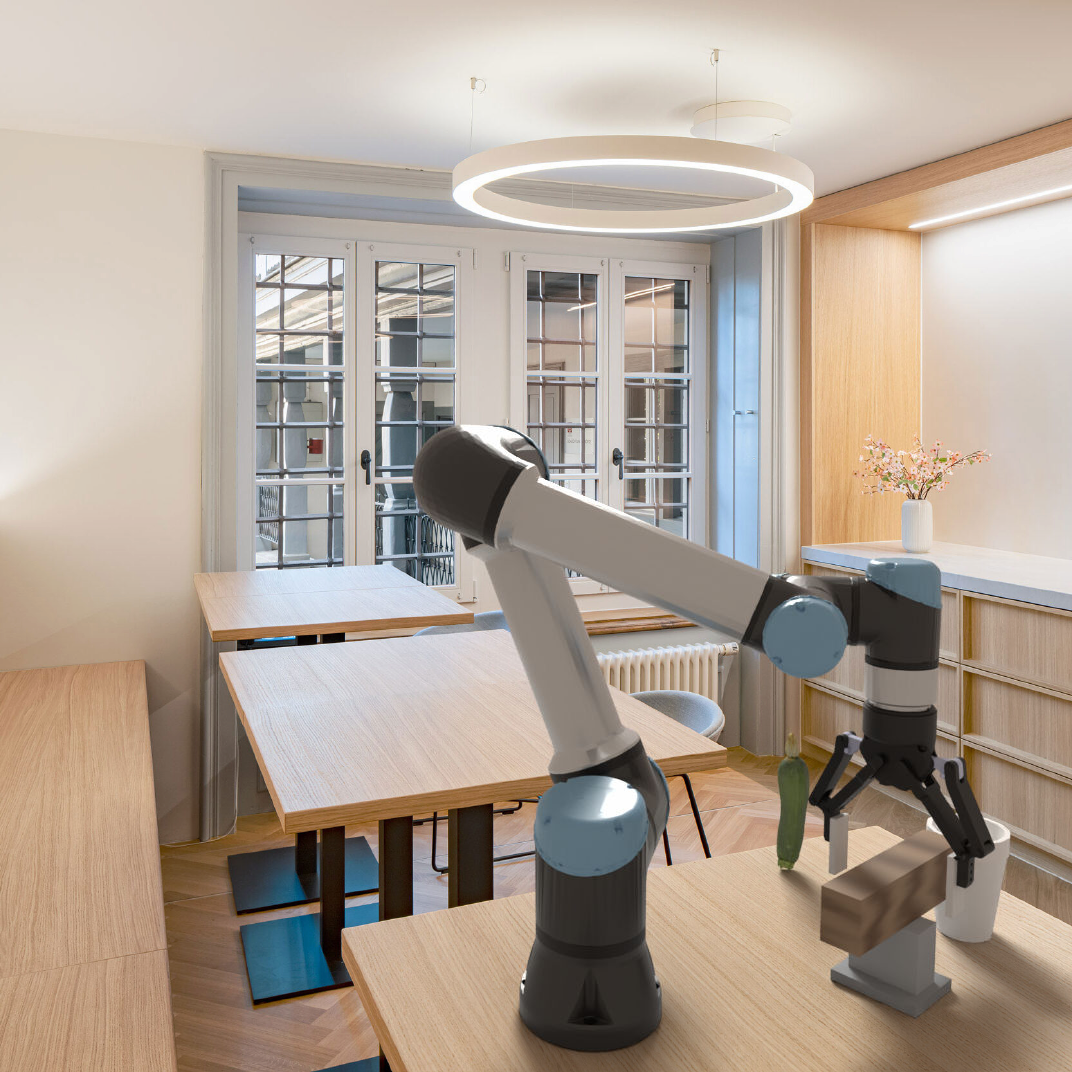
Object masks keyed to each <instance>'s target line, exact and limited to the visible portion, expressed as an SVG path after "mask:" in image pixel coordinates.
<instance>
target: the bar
mask: <svg viewBox="0 0 1072 1072" xmlns="http://www.w3.org/2000/svg"><path fill="white" fill-rule="evenodd" d="M953 852H954V851H953V850H952V848H951V847H950V845H949V843H948V842H947V840H946V839H945V837H944V836H943V835H941V834H938V833H935V832H932V831H928V830H926V829H925V828H923V829H922V830H920V831H918V832H917V833H915V834H912V835H910V836H909V837H907V838H905V839H904V840H901V841H900V842H898V843H897V844H895V845H892V846H890V847H889V848H887V849H885V850H884V851H882V852H880V853H878V854H876V855H874V856H873V857H871V858H868V859H867V860H865V861H864V862H862V863H859V864H858V865H856V866H854V867H852V868H851V869H849V870H847V871H845V872H843V873H842V874H840V875H838V876H836V877H834V878H832V879H830V880H829V881H826V882H825V883H823V884H822V885H821V886H820V887H821V888H820V890H821V891H820V892H821V893H820V919H819V920H820V921H819V923H820V926H819V927H820V928H819V941H821V942H823V943H824V944H826V945H830V946H832V947H834V948H836V949H839V950H840V951H843V952H845V953H848V954H849V953H850V954H852V955H855V956H857V957H861V956H862V955H864V954H865V953H867V952H868V951H870V950H871V949H873V948H874V947H876V946H877V945H879V944H880V943H882V942H883V941H885V940H886V939H888V938H889V937H891V936H892V935H894V934H895V933H897V932H898V931H900V930H901V929H903V928H904V927H906V926H907V925H909V924H910V923H912V922H913V921H915V920H916V919H918V918H919V917H923V916H924V915H925V914H926V913H929V911H931V910H934V907H936V906H937V905H939V904H940V903H942V902H943V901H945V900H946V879H947V856H948V855H950V854H951V853H953Z"/></svg>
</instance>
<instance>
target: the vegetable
mask: <svg viewBox="0 0 1072 1072" xmlns="http://www.w3.org/2000/svg"><path fill="white" fill-rule="evenodd" d="M795 734H796V733H795V732H790V733H788V736H787V739H786V743H785V747H784V752H785V753H786V757H784V758H783V759H782V760H781V762H780V763H779V765H778V768H777V782H778V783H777V784H778V791H779V798H780V814H779V821H778V828H777V832H776V834H777V835H776V856H777V866H778V867H779V868H780V869H783V868H784V869H788V870H792V869H793V868H794V866H795V863H796V862H797V861H798V860H799V857H800V853H801V850H802V846H803V841H804V838H805V837H804V836H805V825H806V824H805V823H806V817H807V810H808V803H809V800H808V799H809V796H810V772H809V768H808V765H807V763H806V762H805V760H804V759H803V758H801V757H799V755H800V750H799V746H798V740H797V739H798V738H797V737H796V736H795Z"/></svg>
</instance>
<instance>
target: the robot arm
mask: <svg viewBox="0 0 1072 1072" xmlns="http://www.w3.org/2000/svg"><path fill="white" fill-rule="evenodd" d="M550 474H551V472H550V467H549V463H548V459H547V458H546V455H545V454H544V452H543V450H542V449H541V447H540V446H539V444H537V443H536V441H535V440H533V439H532V438H531V437H529V436H528V435H526V433H525V434H524V433H523V432H521V431H520V430H518V429H515V428H513V427H510V426H507V425H498V424H487V425H474V424H457V425H453V426H449V427H446V428H444V429H442V430H440V431H438V432H437V433H434V434H433V435H432V436H431V437H430V438H429V439H428V440H426V442H424V444H423V445H422V447H421V448H420V450H419V451H418V453H417V455H416V458H415V461H414V463H413V469H412V478H411V479H412V487H413V491H414V494H415V497H416V500H417V502H418V503H419V505H420V508H421V509H422V510H423V511H424V513H425V514H426V515H427V516H428V517H429V518H430V519H432V521H434V522H435V523H437V524H438V525H439V526H442V527H443V528H446V529H447V530H449V531H453V532H456V533H458V534H459V535H460V538H461V541H462V543H463V546H464V549H465V551H466V552H467V554H468V555H471V556H472V557H475V558H477V559H479V560H481V561H482V562H483V563H484V566H485V568H486V570H487V573H488V575H489V578H490V581H491V584H492V586H493V588H494V592H495V595H496V597H497V600H498V602H499V605H500V608H501V611H502V613H503V615H504V619H505V622H506V624H507V628H508V630H509V632H510V634H511V638H512V640H513V642H514V646H515V648H516V650H517V653H518V656H519V659H520V662H521V664H522V667H523V669H524V672H525V675H526V677H527V681H528V683H529V686H530V689H531V691H532V694H533V696H534V699H535V701H536V704H537V707H538V710H539V712H540V715H541V718H542V721H543V723H544V726H545V729H546V730H547V734H548V737H549V739H550V741H551V745H552V748H553V754H552V756H551V758H550V760H549V763H548V766H547V771H548V773H549V775H550V779H551V781H552V786H551V787H550V788H548V789H547V790H546V791H545V792H543V794H542V795H541V797H540V798H539V801H538V802H537V806H536V809H535V810H536V811H535V812H536V813H535V820H534V822H533V840H534V841H533V842H534V856H535V857H534V862H535V863H534V864H535V866H534V871H535V879H534V880H535V884H534V886H535V887H534V888H535V891H534V893H535V903H534V904H535V907H534V908H535V937H534V941H533V944H532V947H531V950H530V953H529V956H528V960H527V964H526V970H525V971H524V973H523V975H522V976H521V980H520V983H519V988H518V990H519V991H518V992H519V994H518V996H519V1000H518V1001H519V1005H518V1006H519V1013H520V1017H521V1019H522V1021H523V1023H524V1024H525V1025H526V1027H527V1028H528V1029H529V1030H530V1031H531V1032H532V1033H534V1034H535V1035H536V1036H537V1037H539V1038H541V1039H543V1040H545V1041H547V1042H548V1043H551V1044H553V1045H557V1046H559V1047H563V1048H566V1049H571V1050H577V1051H578V1050H579V1051H584V1052H585V1051H587V1052H598V1051H600V1052H601V1051H613V1050H615V1049H616V1050H617V1049H622V1048H625V1047H628V1046H631V1045H634V1044H636V1043H638V1042H640V1041H643V1040H644V1039H645V1038H647V1037H648V1036H649V1035H651V1034H653V1032H654V1031H655V1030H656V1029H657V1027H658V1025H659V1024H660V1021H661V1019H662V1014H663V1008H662V1007H663V991H662V987H661V986H662V985H661V983H660V981H659V978H658V976H657V974H656V971H655V965H654V962H653V958H652V954H651V952H650V949H649V945H648V943H647V937H646V936H647V935H646V934H647V929H646V928H647V926H646V925H647V923H646V922H647V879H648V870H649V867H650V864H651V862H652V858H653V856H654V854H655V853H656V850H657V847H658V845H659V842H660V840H661V837H662V835H663V833H664V831H665V829H666V827H667V825H668V822H669V818H670V817H669V816H670V810H671V805H670V803H671V799H670V798H671V797H670V796H671V795H670V789H669V784H668V781H667V778H666V776H665V774H664V772H663V770H662V768H661V767H660V766H659V764H658V763H657V762H656V761H655V760H654V759H653V758H652V757H651V756H649V755H647V754H648V753H647V752H646V749H645V747H644V746H645V745H644V744H643V742H642V739H641V736H640V734H639V733H638V731H635V730H633V729H631V728H629V727H626V726H625V725H624V724H623V723H622V721H621V718H620V716H619V713H618V711H617V708H616V705H615V703H614V700H613V697H612V693H611V691H610V689H609V687H608V684H607V681H606V678H605V676H604V673H603V670H602V668H601V665H600V663H599V662H600V661H599V660H598V657H597V655H596V651H595V649H594V647H593V644H592V640H591V639H590V636H589V633H588V630H587V628H586V625H585V622H584V619H583V617H582V614H581V611H580V609H579V607H578V604H577V600H576V598H575V595H574V593H573V589H572V587H571V585H570V582H569V579H568V577H567V574H566V571H565V569H567V570H569V571H571V572H573V573H576V574H578V575H581V576H583V577H585V578H588V579H590V580H593V581H595V582H597V583H599V584H601V585H604V586H606V587H609V588H611V589H613V590H615V591H617V592H620V593H622V594H625V595H626V596H629V597H632V598H634V599H636V600H639V601H640V602H643V603H645V604H648V605H649V606H653V607H655V608H657V609H659V610H662V611H664V612H666V613H668V614H671V615H673V616H675V617H678V618H680V619H682V620H684V621H687V622H689V623H691V624H693V625H695V626H698V627H700V628H703V629H705V630H708V631H710V632H713V633H715V634H716V635H719V636H722V637H723V638H726V639H729V640H730V641H733V642H736V643H737V644H740V645H742V646H744V647H746V648H748V649H750V650H751V651H754V652H757V653H758V654H761V655H763V656H766V657H767V658H768V659H769V661H770V662H771V663H772V664H773V665H774V666H775V667H776V668H777V669H778V670H779V671H780V672H782V673H784V674H786V675H787V676H791V677H793V678H797V679H803V680H804V679H807V680H808V679H814V678H818V677H821V676H825V675H826V674H827V673H829V672H831V671H832V670H834V668H835V667H836V666H837V665H838V664H839V663H840V661H841V660H842V658H843V657H844V653H845V651H846V648H847V646H849V647H858V646H860V647H861V646H862V647H864V651H865V652H864V664H863V665H864V668H863V669H864V671H863V686H862V688H863V693H862V694H863V696H864V697H865V698H866V700H865V701H863V704H862V726H861V727H862V728H861V729H862V730H861V731H862V733H863V737H860V736H857V734H856V732H855V731H853V730H848V731H845V732H842V733H840V734H837V735H836V737H835V743H834V747H833V748H834V749H833V753H832V755H831V757H830V759H828V760H829V761H828V763H827V765H826V766H825V768H824V769H823V771H822V774H821V775H820V777H819V778H818V780H817V782H816V784H815V786H814V788H813V789H812V791H811V793H810V794H809V799H808V803H809V805H811V806H812V807H817V808H819V809H820V810H821V811H822V814H823V839H824V841H825V842H828V843H829V845H828V849H829V850H828V874H830V875H833V876H836V875H837V874H839V873H841V872H842V871H845V870H847V869H848V850H849V849H848V848H849V847H848V846H849V845H848V844H849V813H848V812H843V810H844V809H845V808H846V806H848V804H849V803H850V802H852V801H853V800H854V799H855V798H856V797H857V796H858V795H859V794H861V792H863V791H864V790H865V789H866V788H867V787H868V786H869V785H870V784H871V783H872V782H874V781H875V780H876V781H877V782H878V784H879V785H881V786H885V787H893V788H896V789H898V790H900V791H903V792H908V791H910V792H911V793H912V794H913V796H914V797H915V799H916V800H918V801H920V802H921V803H922V805H923V806H924V808H925V810H926V811H927V813H928V814H929V816H930V817H932V819H933V820H934V822H935V823H936V825H937V826H938V828H939V830H940V831H941V833H942V834H943V836H944V837H945V839H946V840H947V842H948V843H949V845H950V847H951V848H952V850H953V851H954V852H953V853H951V854H950V855H948V856H947V879H946V904H945V916H946V917H949V918H951V919H953V918H954V917H955V916H957V915H958V914H960V913H961V912H962V911H964V897H965V889H966V888H967V887H969V886H970V885H972V883H973V881H974V864H975V857H977V858H980V859H981V858H984V857H985V856H987V855H988V854H990V853H991V852H993V851H994V850H995V845H994V842H993V840H992V838H991V835H990V833H989V830H988V828H987V826H986V823H985V821H984V818H985V817H983V814H982V811H981V809H980V807H979V804H978V801H977V799H976V797H975V794H974V793H973V790H972V788H971V785H970V783H969V781H968V774H967V773H968V772H967V762H966V760H965V758H963V757H962V756H957V757H955V758H947V757H939V756H938V754H937V752H936V740H937V733H938V732H937V729H938V726H937V725H938V709H937V708H936V706H935V705H934V704H936V703H937V702H938V698H939V669H940V664H939V663H940V646H941V645H940V644H941V630H942V629H941V628H942V611H943V610H942V609H943V604H942V573H941V572H942V571H941V568H940V567H939V566H938V565H936V563H934V562H932V561H930V560H926V559H923V558H922V559H921V558H911V557H878V558H872V559H871V560H870V561H869V562H868V563H867V567H866V571H865V572H864V573H865V574H864V575H858V576H837V575H836V576H833V575H832V576H830V575H829V576H828V575H812V574H790V573H789V572H782V573H780V574H779V573H777V574H772V573H771V574H770V573H768V572H766V571H763V570H760V569H759V568H756V567H754V566H752V565H749V564H747V563H744V562H742V561H739V560H737V559H735V558H732V557H730V556H728V555H725V554H723V553H720V552H718V551H716V550H713V549H711V548H708V547H706V546H703V545H701V544H699V543H696V542H694V541H691V540H690V539H686V538H684V537H682V536H680V535H677V534H675V533H672V532H670V531H668V530H666V529H663V528H661V527H658V526H655V525H653V524H651V523H649V522H647V521H644V520H642V519H639V518H636V517H635V516H632V515H630V514H627V513H625V512H623V511H621V510H618V509H615V508H613V507H611V506H608V505H605V504H604V503H602V502H599V501H596V500H594V499H591V498H589V497H586V496H584V495H581V494H580V493H577V492H574V491H572V490H570V489H568V488H565V487H562V486H560V485H558V484H555V483H553V482H551V475H550ZM858 752H859V753H860V754H861V756H862V758H863V759H864V762H865V763H866V764H865V765H864V766H863V767H862V768H861V769H860V770H859V771H858V772H856V773H855V775H854V777H853V778H852V779H850V780H849V782H848V783H846V784H845V785H844V786H843V787H842V788H841V789H840V790H839V791H838V792H836V793H835V794H834V796H832V797H831V795H833V792H834V790H835V789H836V786H837V785H838V783H839V781H840V779H841V778H842V776H843V775H844V773H845V770H846V769H847V767H848V765H849V764H850V762H851V760H852V758H853V756H854V754H856V753H858ZM935 770H938V771H939V776H940V778H941V779H943V780H944V781H945V782H944V783H945V786H946V791H947V792H948V794H949V798H950V800H951V802H952V805H953V807H954V809H953V807H952V806H951V804H950V803H949V802H948V800H947V798H946V797H945V796H944V794H943V792H942V790H941V786H940V783H939V782H938V780H937V779H936V777H935V776H934V774H933V773H934V772H935ZM923 785H925V786H923ZM841 811H842V812H841ZM955 813H957V815H958V817H959V818H958V817H957V815H956V814H955Z"/></svg>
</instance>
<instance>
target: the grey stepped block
mask: <svg viewBox="0 0 1072 1072" xmlns="http://www.w3.org/2000/svg"><path fill="white" fill-rule="evenodd" d="M936 923H937V922H936V921H934V920H932V919H929V918H926V917H924V916H921V917H919V918H918V919H916V920H915V921H913V922H912V923H910V924H909V925H907V926H906V927H904V928H903V929H901V930H900V931H898V932H897V933H895V934H894V935H892V936H891V937H889V938H888V939H886V940H885V941H883V942H882V943H880V944H879V945H877V946H876V947H874V948H873V949H871V950H870V951H868V952H867V953H865V954H864V955H862V956H861V957H857V956H855V955H852V954H850V953H848V956H847V957H846V958H844V959H843V960H842V961H840V962H838V963H837V964H835V965H834V966H833V967H831V968H830V980H832V981H833V982H836V983H838V984H841V985H843V986H845V987H848V988H850V989H852V990H853V991H856V992H858V993H860V994H863V995H864V996H867V997H869V998H871V999H873V1000H875V1001H877V1002H880V1003H882V1004H884V1005H887V1006H888V1007H891V1008H892V1009H895V1010H898V1011H900V1012H902V1013H903V1014H906V1015H908V1016H910V1017H913V1018H915V1019H917V1018H918V1017H919V1016H920V1015H922V1014H923V1013H924V1012H925V1011H926V1010H928V1009H930V1007H932V1005H934V1004H935V1003H936V1002H937V1001H939V1000H940V999H941V998H942V997H944V996H946V995H947V993H948V992H949V991H951V990H952V982H953V981H952V978H950V977H948V976H946V975H943V974H941V973H939V972H936V971H935V970H936V969H935V968H936V967H935V966H936V948H937V947H936V945H937V943H936V942H937V927H936Z"/></svg>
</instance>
